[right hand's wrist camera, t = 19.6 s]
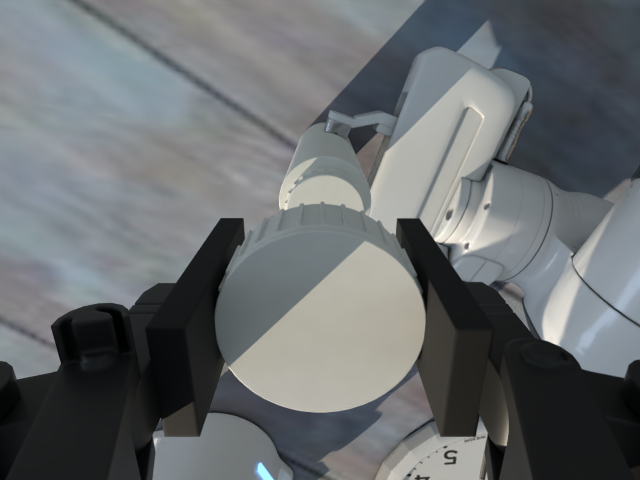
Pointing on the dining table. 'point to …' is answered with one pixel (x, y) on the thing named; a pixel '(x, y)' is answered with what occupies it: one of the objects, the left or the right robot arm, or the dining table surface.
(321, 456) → the dining table surface
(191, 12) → the dining table surface
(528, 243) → the left robot arm
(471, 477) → the wall clock
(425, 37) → the dining table surface
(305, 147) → the white plastic cylinder
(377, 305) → the lid
